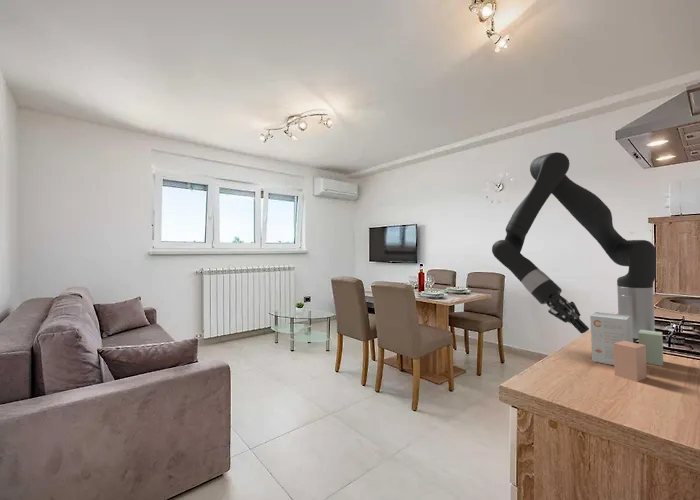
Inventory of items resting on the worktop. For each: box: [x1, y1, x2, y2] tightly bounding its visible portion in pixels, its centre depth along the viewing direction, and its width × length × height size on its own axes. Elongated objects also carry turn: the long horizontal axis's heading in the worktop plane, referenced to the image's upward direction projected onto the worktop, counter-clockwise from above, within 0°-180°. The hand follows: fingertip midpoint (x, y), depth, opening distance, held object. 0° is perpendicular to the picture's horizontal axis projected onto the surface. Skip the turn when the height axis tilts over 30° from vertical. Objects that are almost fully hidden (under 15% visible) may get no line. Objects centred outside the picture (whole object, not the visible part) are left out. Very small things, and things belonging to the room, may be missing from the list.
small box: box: [589, 311, 634, 366], centre depth 87 cm, size 8×6×13 cm
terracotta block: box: [613, 341, 648, 383], centre depth 78 cm, size 4×4×8 cm
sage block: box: [638, 330, 664, 367], centre depth 86 cm, size 4×4×8 cm
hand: (585, 331), depth 92 cm, fingers closed
